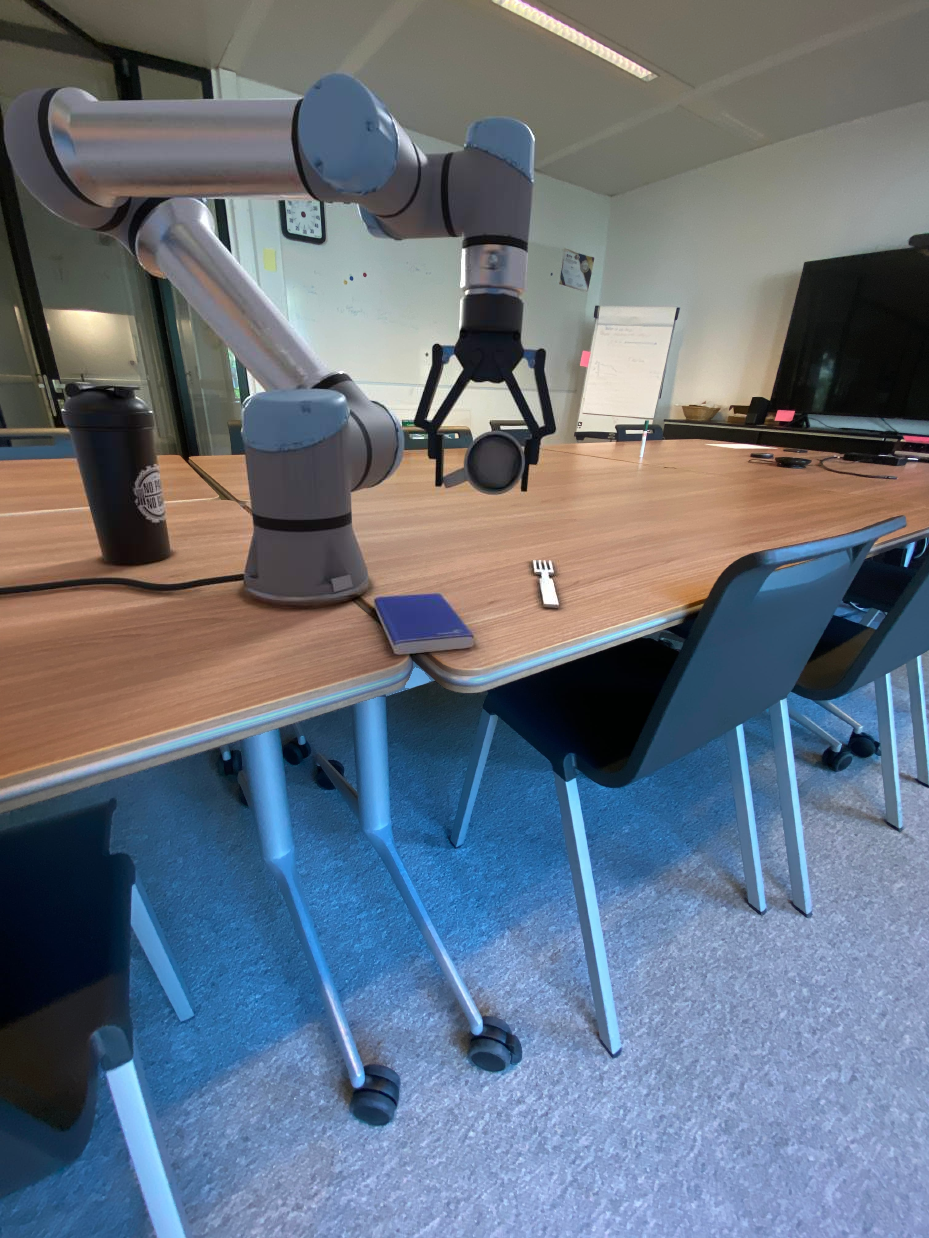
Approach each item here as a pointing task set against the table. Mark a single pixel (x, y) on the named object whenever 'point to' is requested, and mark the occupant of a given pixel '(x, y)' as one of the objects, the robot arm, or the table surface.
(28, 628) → the table surface
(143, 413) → the water bottle
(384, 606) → the hard drive
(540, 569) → the fork
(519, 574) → the table surface
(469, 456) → the ceramic mug
